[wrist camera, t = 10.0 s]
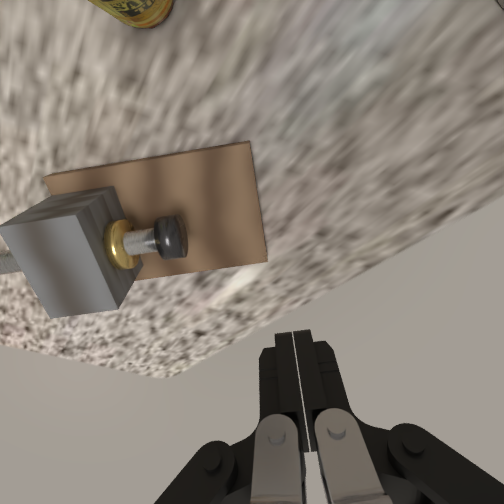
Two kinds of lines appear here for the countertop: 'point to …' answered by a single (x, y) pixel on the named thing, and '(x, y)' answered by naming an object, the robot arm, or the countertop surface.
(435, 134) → the countertop surface
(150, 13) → the sauce bottle
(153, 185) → the bearing block
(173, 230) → the shaft
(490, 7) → the countertop surface
